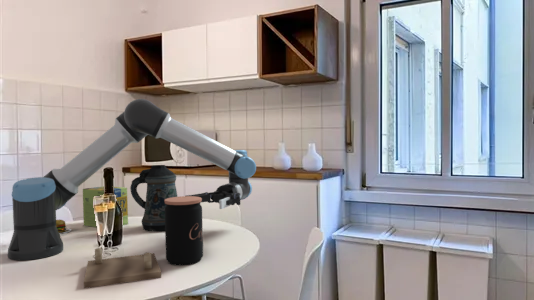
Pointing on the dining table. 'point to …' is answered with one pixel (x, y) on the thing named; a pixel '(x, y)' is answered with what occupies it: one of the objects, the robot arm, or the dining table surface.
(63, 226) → the hamburger
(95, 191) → the protein box
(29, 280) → the dining table surface
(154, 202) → the beer stein
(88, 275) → the pegged base plate
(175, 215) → the coffee jar
